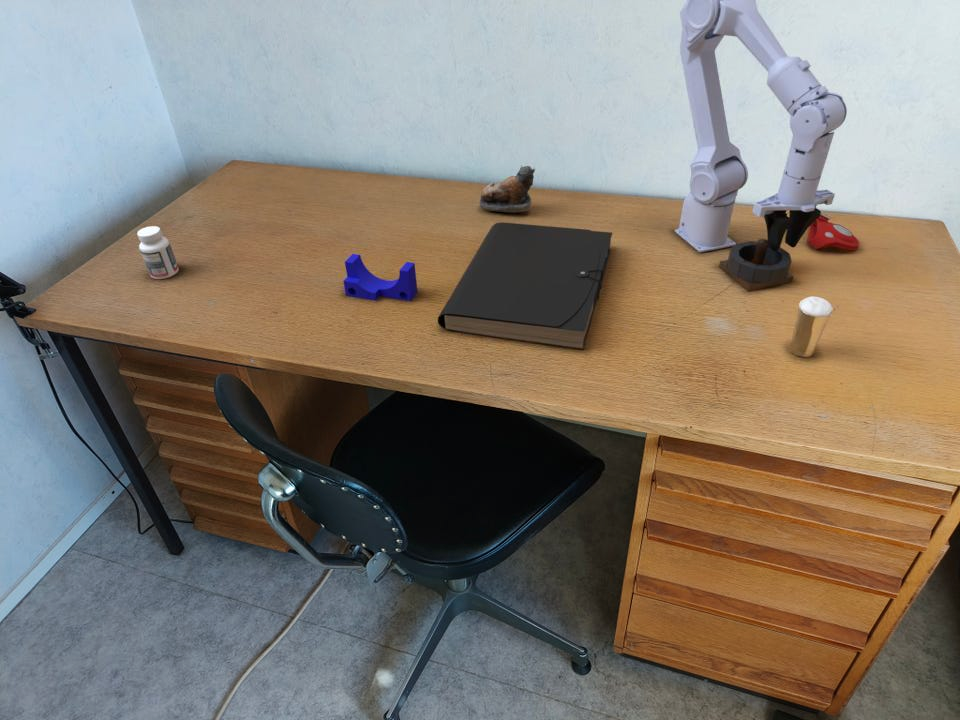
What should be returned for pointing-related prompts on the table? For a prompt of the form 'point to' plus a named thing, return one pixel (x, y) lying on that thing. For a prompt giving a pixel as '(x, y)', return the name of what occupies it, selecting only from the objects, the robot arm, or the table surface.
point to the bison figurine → (509, 193)
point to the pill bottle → (157, 253)
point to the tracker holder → (830, 235)
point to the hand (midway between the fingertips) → (781, 246)
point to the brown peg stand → (757, 260)
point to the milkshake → (810, 325)
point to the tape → (758, 272)
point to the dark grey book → (531, 285)
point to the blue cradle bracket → (378, 282)
